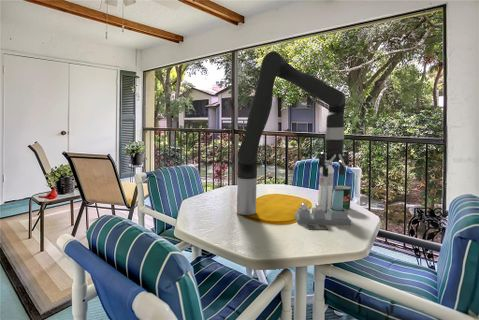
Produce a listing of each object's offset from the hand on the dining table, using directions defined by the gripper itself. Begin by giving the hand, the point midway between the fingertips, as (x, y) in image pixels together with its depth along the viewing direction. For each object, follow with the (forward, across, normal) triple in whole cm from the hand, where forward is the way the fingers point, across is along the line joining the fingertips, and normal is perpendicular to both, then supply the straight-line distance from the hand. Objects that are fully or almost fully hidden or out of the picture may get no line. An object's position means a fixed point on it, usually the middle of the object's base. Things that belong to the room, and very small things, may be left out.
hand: (333, 175), depth 129 cm
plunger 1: (+18, +11, -6) cm, 22 cm away
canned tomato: (+22, -20, -16) cm, 33 cm away
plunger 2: (+18, +5, -4) cm, 19 cm away
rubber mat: (+21, +10, +2) cm, 23 cm away
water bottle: (+21, -8, -16) cm, 28 cm away
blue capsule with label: (+19, -3, -1) cm, 19 cm away
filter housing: (+21, +3, -4) cm, 21 cm away
